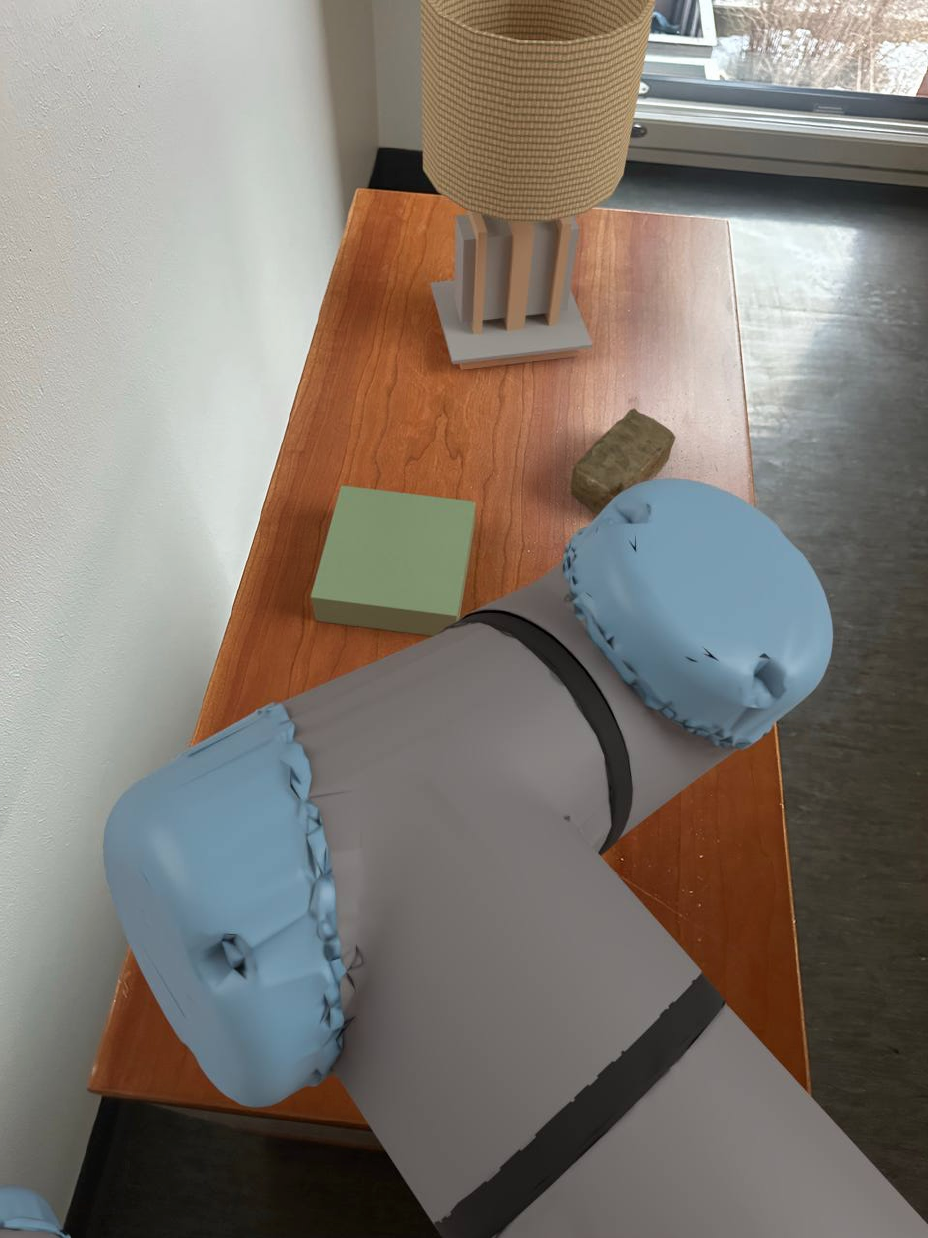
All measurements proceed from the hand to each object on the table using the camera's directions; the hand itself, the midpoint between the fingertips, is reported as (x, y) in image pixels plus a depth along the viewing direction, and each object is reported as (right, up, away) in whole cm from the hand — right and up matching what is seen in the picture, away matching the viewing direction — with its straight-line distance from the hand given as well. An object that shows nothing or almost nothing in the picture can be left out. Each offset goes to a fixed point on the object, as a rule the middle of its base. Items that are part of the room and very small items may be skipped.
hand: (362, 927), depth 52 cm
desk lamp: (+11, +51, +52) cm, 74 cm away
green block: (0, +22, +33) cm, 40 cm away
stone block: (+22, +32, +40) cm, 56 cm away
